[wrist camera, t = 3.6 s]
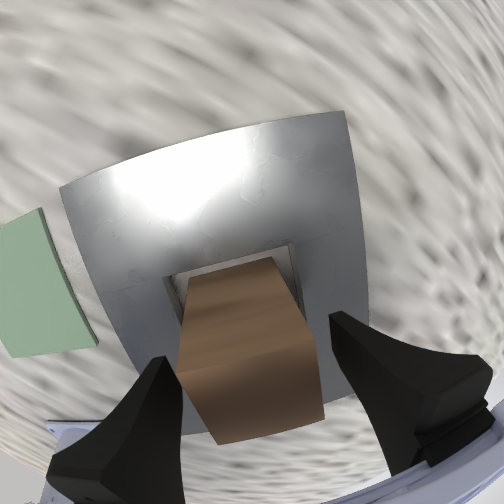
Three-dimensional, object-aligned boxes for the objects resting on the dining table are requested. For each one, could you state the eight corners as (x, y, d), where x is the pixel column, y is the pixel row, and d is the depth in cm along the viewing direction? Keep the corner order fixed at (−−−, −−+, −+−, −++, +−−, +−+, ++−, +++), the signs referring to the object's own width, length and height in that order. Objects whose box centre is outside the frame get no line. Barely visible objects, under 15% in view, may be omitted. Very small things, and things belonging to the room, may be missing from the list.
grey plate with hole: (359, 375, 20) (367, 387, 18) (180, 420, 19) (180, 435, 18) (332, 113, 14) (343, 110, 12) (71, 183, 13) (58, 187, 12)
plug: (285, 324, 17) (324, 419, 10) (213, 342, 17) (217, 445, 10) (271, 256, 16) (315, 339, 9) (189, 277, 16) (175, 373, 9)
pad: (98, 342, 16) (96, 346, 16) (14, 355, 16) (12, 358, 15) (40, 207, 13) (37, 209, 13) (-37, 249, 13) (-40, 251, 12)
